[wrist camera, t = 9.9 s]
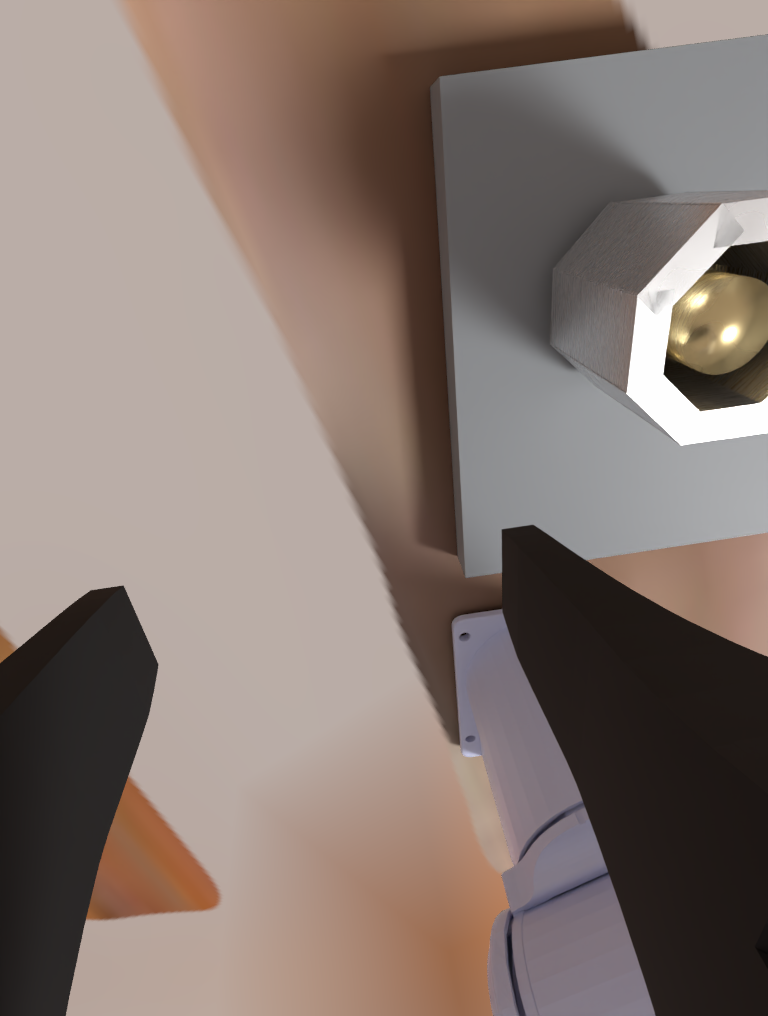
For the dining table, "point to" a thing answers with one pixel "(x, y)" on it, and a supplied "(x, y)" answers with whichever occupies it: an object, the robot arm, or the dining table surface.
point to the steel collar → (662, 308)
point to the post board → (528, 294)
